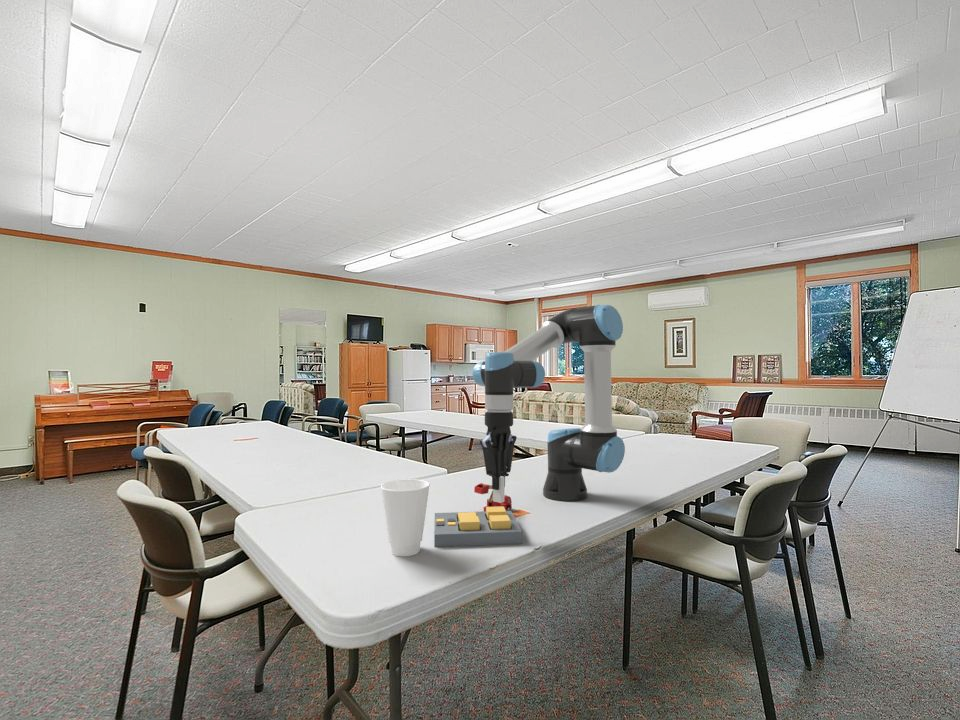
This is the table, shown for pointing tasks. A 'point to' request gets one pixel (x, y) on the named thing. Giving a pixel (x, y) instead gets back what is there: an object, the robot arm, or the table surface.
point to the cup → (405, 514)
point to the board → (473, 531)
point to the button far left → (495, 511)
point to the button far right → (466, 514)
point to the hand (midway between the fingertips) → (498, 501)
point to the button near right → (469, 523)
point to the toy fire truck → (490, 503)
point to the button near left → (499, 522)
